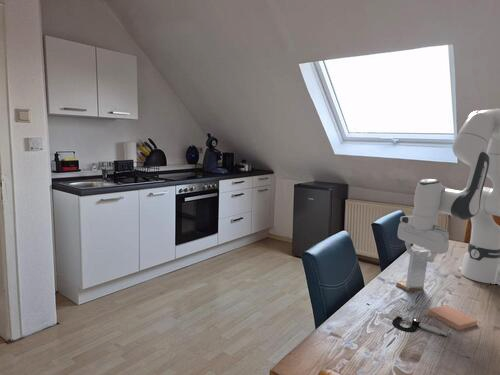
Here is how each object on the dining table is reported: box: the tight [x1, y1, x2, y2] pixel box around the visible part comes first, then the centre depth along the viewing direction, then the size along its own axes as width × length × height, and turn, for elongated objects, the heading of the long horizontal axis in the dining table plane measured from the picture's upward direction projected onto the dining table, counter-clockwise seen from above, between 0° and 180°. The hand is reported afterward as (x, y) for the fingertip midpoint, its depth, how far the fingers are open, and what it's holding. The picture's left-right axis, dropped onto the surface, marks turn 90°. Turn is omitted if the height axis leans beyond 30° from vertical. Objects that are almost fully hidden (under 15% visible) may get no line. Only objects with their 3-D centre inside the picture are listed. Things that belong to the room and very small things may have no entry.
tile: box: [427, 304, 479, 331], centre depth 121 cm, size 9×2×11 cm
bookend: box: [395, 249, 430, 293], centre depth 143 cm, size 8×6×16 cm
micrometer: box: [391, 315, 448, 337], centre depth 113 cm, size 15×7×2 cm, turn 53°
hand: (419, 257), depth 141 cm, fingers open, 8 cm apart
